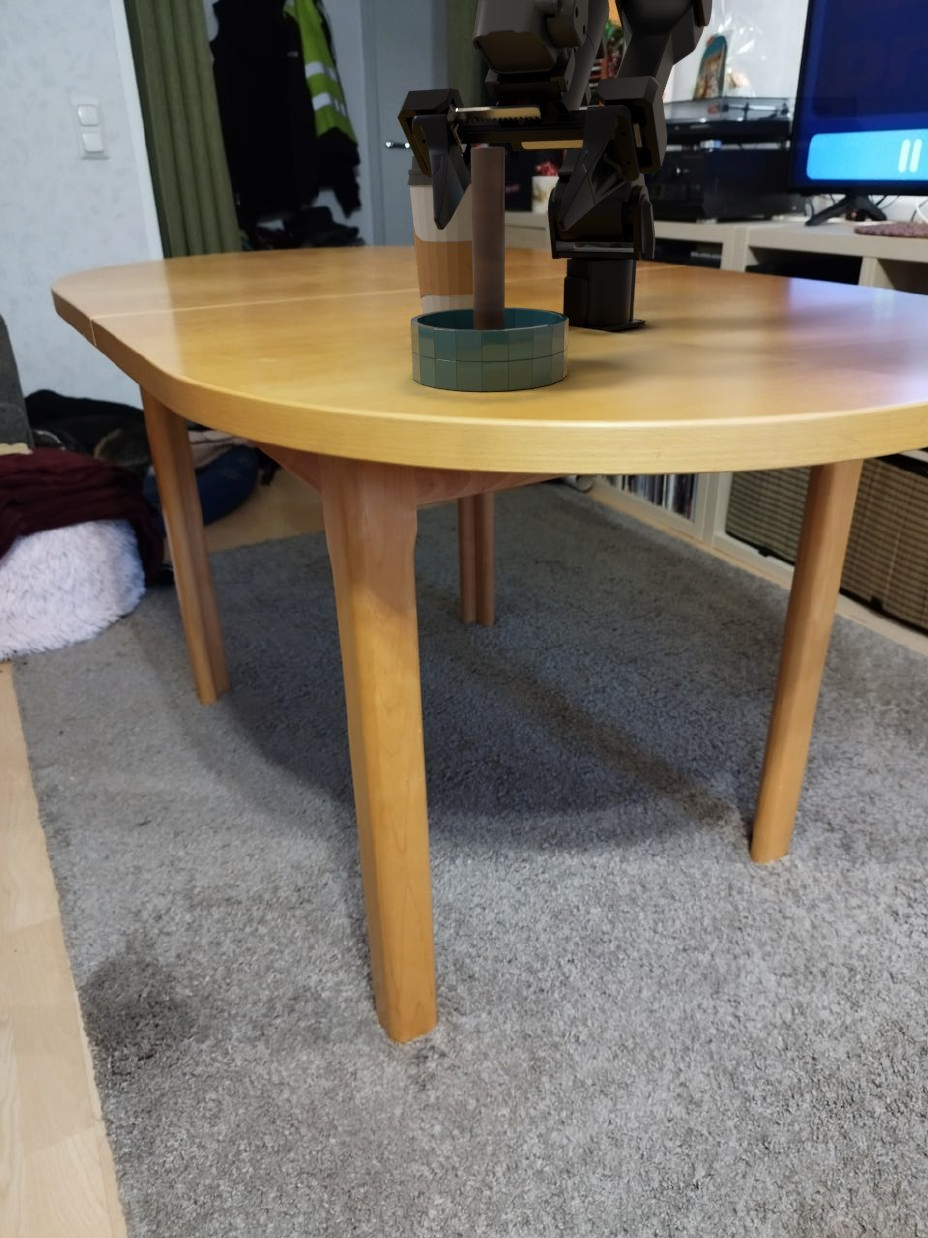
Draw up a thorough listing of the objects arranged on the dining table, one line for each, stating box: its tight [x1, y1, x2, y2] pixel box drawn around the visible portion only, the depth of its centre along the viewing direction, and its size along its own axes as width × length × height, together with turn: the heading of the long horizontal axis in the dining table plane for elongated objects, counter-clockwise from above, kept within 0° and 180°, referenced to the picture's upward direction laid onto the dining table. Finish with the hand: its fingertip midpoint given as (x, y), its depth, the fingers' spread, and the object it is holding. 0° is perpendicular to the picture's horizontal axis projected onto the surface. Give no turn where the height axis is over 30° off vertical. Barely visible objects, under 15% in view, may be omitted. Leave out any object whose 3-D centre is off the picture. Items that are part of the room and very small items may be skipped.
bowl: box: [410, 306, 569, 392], centre depth 63 cm, size 11×11×4 cm
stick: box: [471, 146, 506, 330], centre depth 61 cm, size 4×4×14 cm
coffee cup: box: [407, 155, 473, 314], centre depth 82 cm, size 8×8×15 cm
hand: (498, 225), depth 61 cm, fingers open, 9 cm apart
